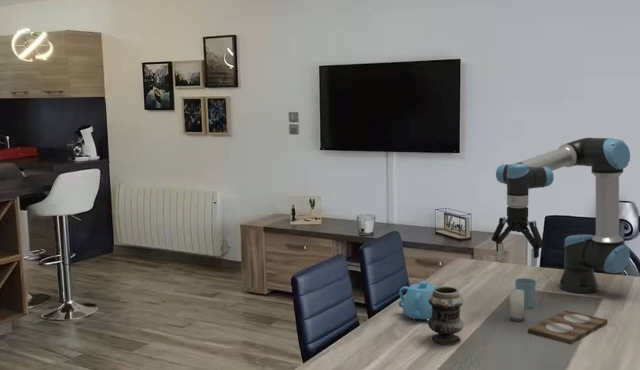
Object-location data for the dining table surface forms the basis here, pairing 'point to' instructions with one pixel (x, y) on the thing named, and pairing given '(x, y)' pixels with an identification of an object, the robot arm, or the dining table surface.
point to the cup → (526, 290)
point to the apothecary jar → (445, 314)
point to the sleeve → (517, 305)
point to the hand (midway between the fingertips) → (517, 263)
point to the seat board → (567, 326)
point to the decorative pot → (417, 300)
